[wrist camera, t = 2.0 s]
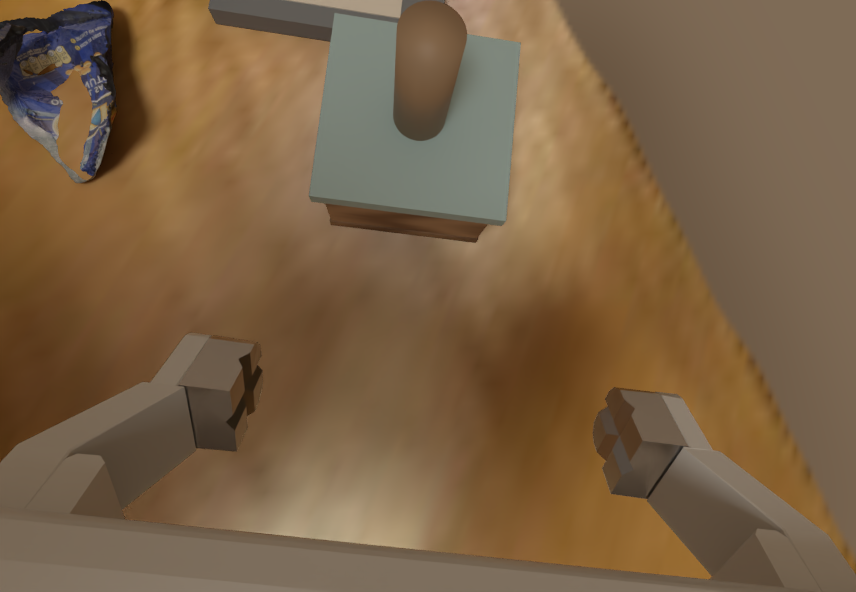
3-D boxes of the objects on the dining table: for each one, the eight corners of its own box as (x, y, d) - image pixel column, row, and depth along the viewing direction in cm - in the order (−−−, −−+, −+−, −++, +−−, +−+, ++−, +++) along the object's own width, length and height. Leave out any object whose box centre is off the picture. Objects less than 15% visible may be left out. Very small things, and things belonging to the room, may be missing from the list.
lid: (311, 201, 27) (281, 137, 19) (336, 24, 28) (318, -105, 20) (501, 225, 28) (549, 173, 20) (516, 53, 29) (565, -60, 21)
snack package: (-41, 161, 31) (134, 199, 32) (-143, 94, 25) (75, 142, 26) (38, 25, 35) (194, 61, 35) (-34, -63, 29) (156, -18, 29)
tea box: (331, 224, 33) (319, 195, 27) (349, 88, 34) (342, 32, 28) (475, 242, 34) (495, 218, 28) (487, 108, 35) (509, 58, 29)
